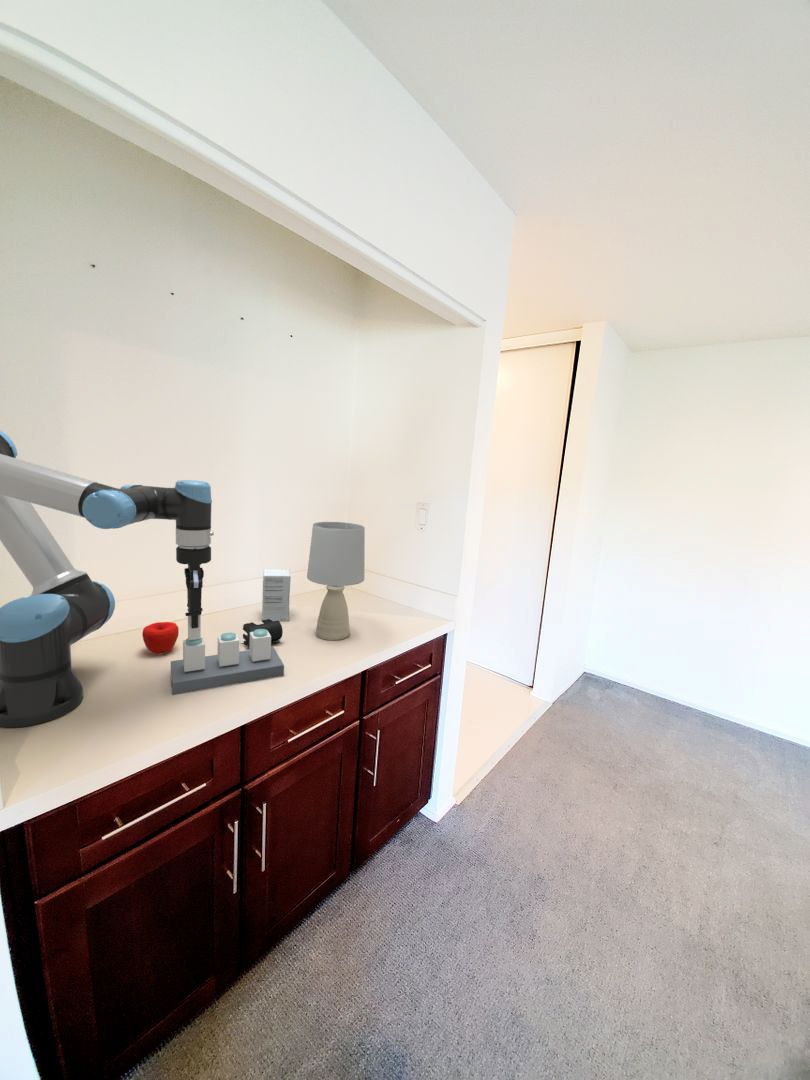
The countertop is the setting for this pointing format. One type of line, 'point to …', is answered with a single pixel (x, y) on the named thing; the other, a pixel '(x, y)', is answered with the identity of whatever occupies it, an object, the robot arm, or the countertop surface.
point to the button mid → (228, 649)
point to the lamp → (335, 572)
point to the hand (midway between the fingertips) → (194, 638)
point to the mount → (224, 672)
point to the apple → (160, 637)
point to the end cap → (271, 626)
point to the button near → (193, 654)
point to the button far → (260, 645)
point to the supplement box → (276, 594)
